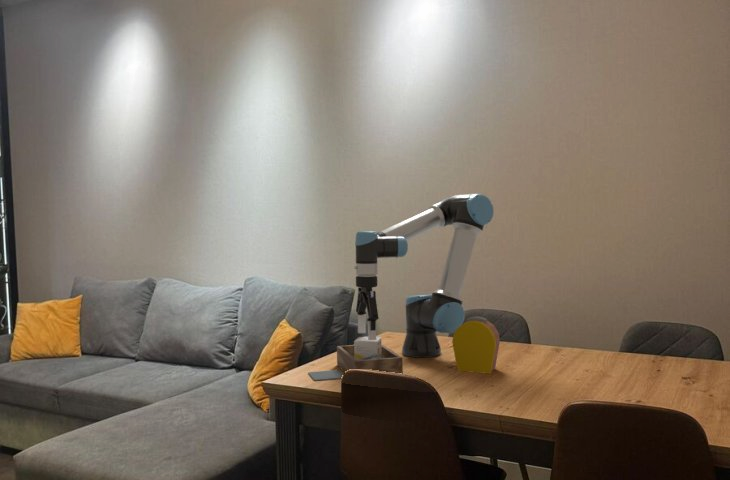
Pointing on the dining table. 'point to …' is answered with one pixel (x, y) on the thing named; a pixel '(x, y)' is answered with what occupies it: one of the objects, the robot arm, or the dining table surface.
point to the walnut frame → (387, 363)
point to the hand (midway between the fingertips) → (366, 336)
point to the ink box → (367, 348)
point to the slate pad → (326, 375)
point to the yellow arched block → (476, 345)
